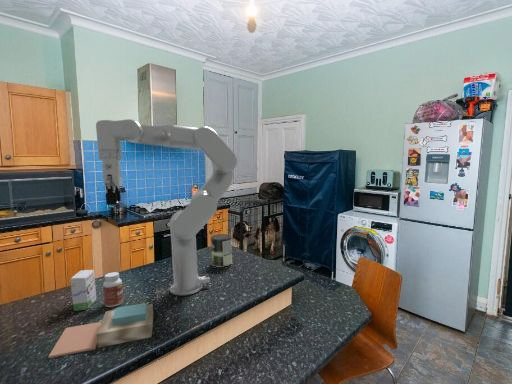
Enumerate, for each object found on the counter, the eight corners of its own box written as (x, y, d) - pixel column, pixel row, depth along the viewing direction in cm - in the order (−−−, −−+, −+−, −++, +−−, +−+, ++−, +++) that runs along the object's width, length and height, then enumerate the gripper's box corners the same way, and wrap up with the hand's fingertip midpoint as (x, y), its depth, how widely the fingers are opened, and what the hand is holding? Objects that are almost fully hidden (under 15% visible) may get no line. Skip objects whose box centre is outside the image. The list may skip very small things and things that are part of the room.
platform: (153, 315, 96) (152, 303, 95) (151, 337, 84) (150, 324, 83) (106, 323, 92) (105, 311, 91) (97, 347, 79) (96, 333, 79)
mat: (105, 322, 92) (105, 321, 92) (95, 349, 79) (95, 347, 79) (66, 329, 89) (65, 327, 89) (48, 358, 75) (48, 356, 75)
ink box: (88, 309, 101) (85, 277, 100) (72, 311, 100) (69, 278, 99) (97, 298, 109) (94, 268, 108) (83, 300, 109) (80, 270, 108)
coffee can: (212, 269, 137) (211, 240, 136) (210, 262, 147) (209, 235, 146) (234, 266, 139) (233, 238, 138) (230, 259, 149) (229, 233, 148)
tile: (147, 308, 92) (146, 302, 92) (145, 319, 86) (145, 313, 85) (116, 313, 90) (115, 307, 89) (112, 325, 83) (112, 319, 83)
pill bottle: (121, 306, 103) (119, 276, 102) (102, 309, 101) (99, 278, 100) (125, 298, 109) (122, 270, 108) (107, 300, 107) (105, 272, 106)
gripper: (118, 154, 96) (122, 205, 98) (124, 156, 113) (128, 199, 114) (93, 155, 94) (97, 206, 96) (103, 156, 110) (107, 200, 112)
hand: (114, 202), depth 105 cm, fingers open, 9 cm apart
